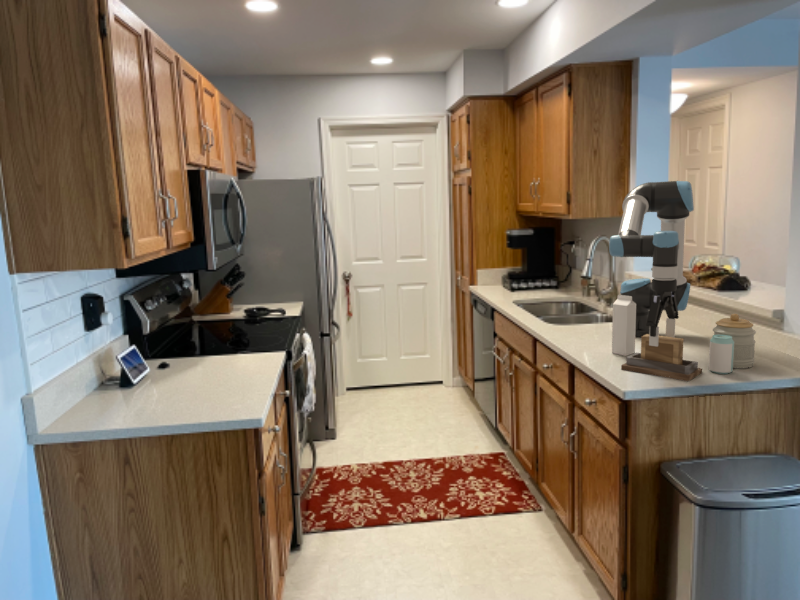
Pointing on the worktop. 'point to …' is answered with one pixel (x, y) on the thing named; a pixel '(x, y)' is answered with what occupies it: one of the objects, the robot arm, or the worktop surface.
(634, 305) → the milk
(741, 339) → the jar
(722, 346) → the can
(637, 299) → the robot arm
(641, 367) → the wooden tray
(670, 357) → the tan wooden block
